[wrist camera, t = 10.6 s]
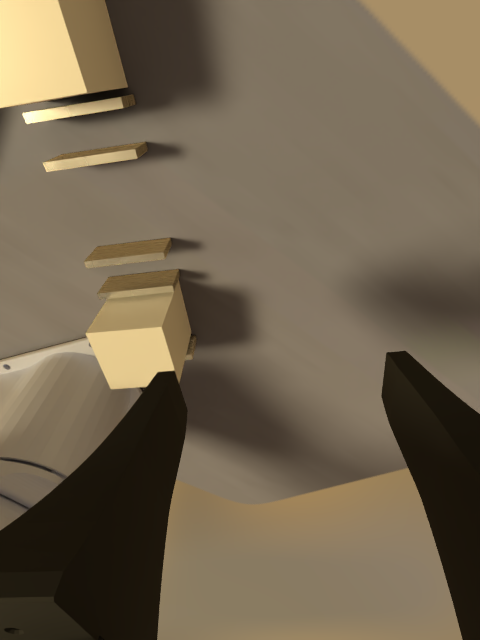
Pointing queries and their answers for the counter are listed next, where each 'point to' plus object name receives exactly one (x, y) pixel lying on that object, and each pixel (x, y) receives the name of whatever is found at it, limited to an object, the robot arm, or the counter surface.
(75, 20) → the block
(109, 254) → the clip holder
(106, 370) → the beige small block
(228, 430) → the counter surface
